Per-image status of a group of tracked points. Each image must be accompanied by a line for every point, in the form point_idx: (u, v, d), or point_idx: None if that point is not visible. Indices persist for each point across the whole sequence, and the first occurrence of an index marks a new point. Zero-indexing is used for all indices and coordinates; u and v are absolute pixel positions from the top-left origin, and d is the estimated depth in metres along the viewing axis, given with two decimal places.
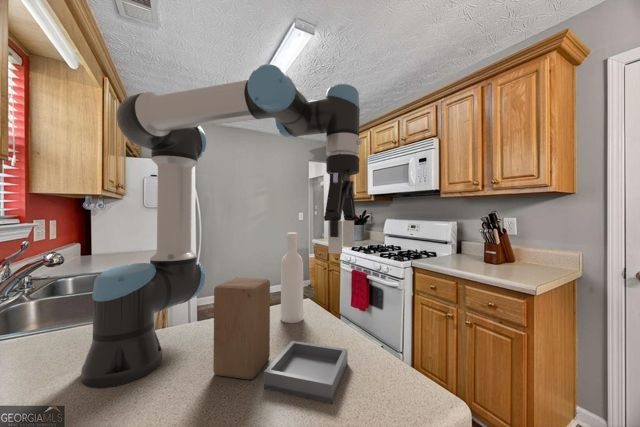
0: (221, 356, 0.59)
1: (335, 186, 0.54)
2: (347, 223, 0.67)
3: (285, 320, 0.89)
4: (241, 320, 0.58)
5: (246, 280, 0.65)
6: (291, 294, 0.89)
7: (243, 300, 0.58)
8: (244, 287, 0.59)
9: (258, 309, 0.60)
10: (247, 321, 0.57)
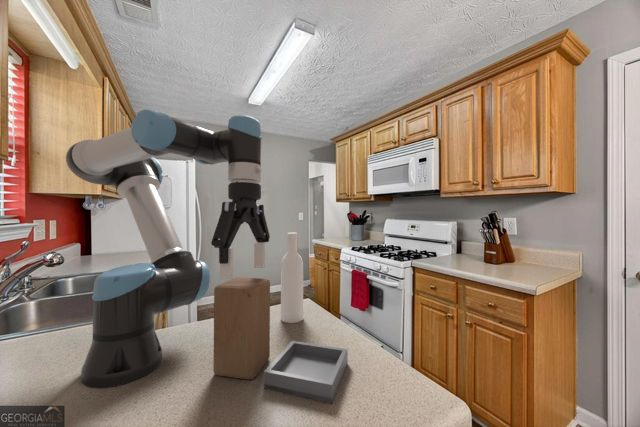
0: (221, 356, 0.59)
1: (225, 215, 0.56)
2: (258, 245, 0.69)
3: (285, 320, 0.89)
4: (241, 320, 0.58)
5: (246, 280, 0.65)
6: (291, 294, 0.89)
7: (243, 300, 0.58)
8: (244, 287, 0.59)
9: (258, 309, 0.60)
10: (247, 321, 0.57)
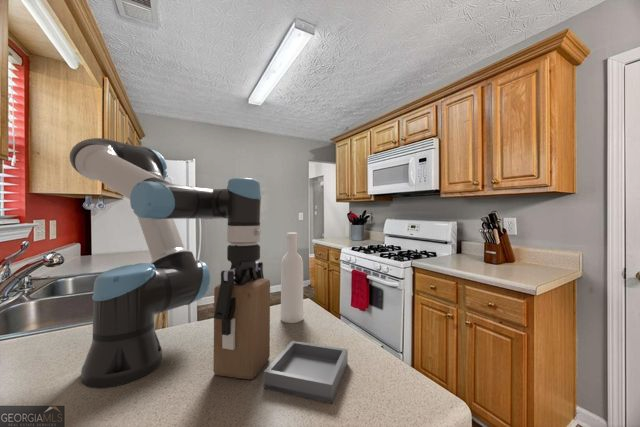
0: (221, 356, 0.59)
1: (225, 286, 0.57)
2: None
3: (285, 320, 0.89)
4: (241, 320, 0.58)
5: None
6: (291, 294, 0.89)
7: (243, 299, 0.58)
8: (244, 287, 0.59)
9: (258, 309, 0.60)
10: (247, 321, 0.57)
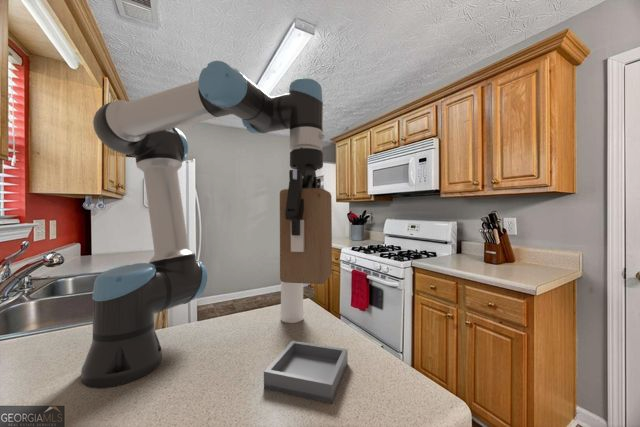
0: (288, 261, 0.56)
1: (295, 183, 0.54)
2: None
3: (285, 320, 0.89)
4: (310, 221, 0.55)
5: None
6: (291, 294, 0.89)
7: (313, 200, 0.55)
8: (312, 188, 0.56)
9: (326, 213, 0.57)
10: (317, 222, 0.55)
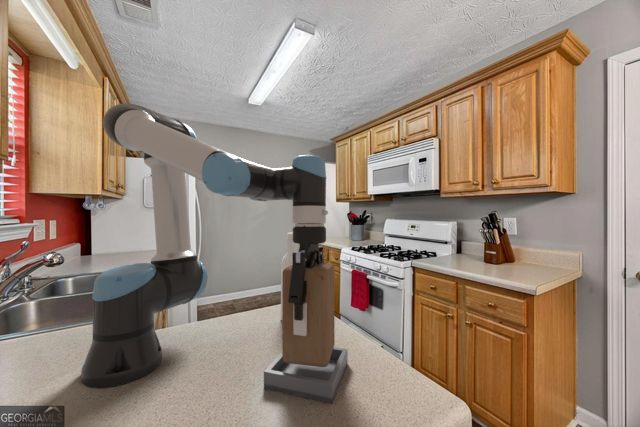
0: (291, 343, 0.55)
1: (298, 268, 0.53)
2: None
3: None
4: (313, 304, 0.54)
5: None
6: None
7: (316, 283, 0.54)
8: (316, 269, 0.55)
9: (329, 293, 0.56)
10: (320, 305, 0.54)
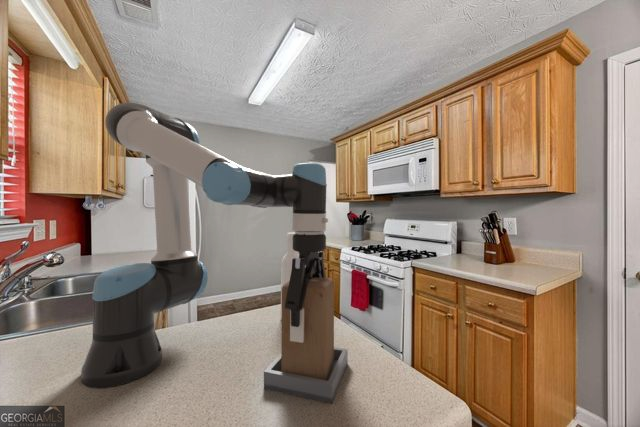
0: (290, 360, 0.55)
1: (297, 273, 0.53)
2: None
3: None
4: (312, 321, 0.54)
5: (310, 279, 0.61)
6: None
7: (315, 300, 0.54)
8: (315, 286, 0.55)
9: (328, 310, 0.56)
10: (319, 322, 0.54)
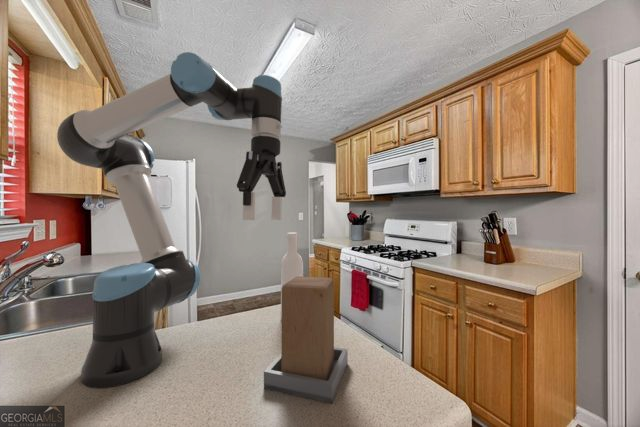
0: (290, 360, 0.55)
1: (249, 162, 0.63)
2: (275, 199, 0.76)
3: None
4: (312, 321, 0.54)
5: (310, 279, 0.61)
6: None
7: (315, 300, 0.54)
8: (315, 286, 0.55)
9: (328, 310, 0.56)
10: (319, 322, 0.54)
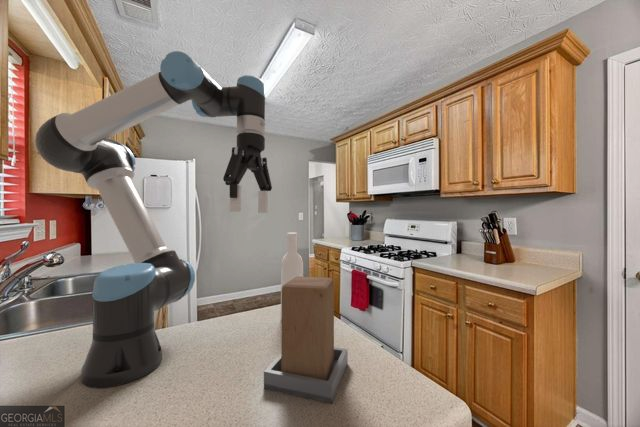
0: (290, 360, 0.55)
1: (235, 157, 0.67)
2: (261, 193, 0.80)
3: None
4: (312, 321, 0.54)
5: (310, 279, 0.61)
6: None
7: (315, 300, 0.54)
8: (315, 286, 0.55)
9: (328, 310, 0.56)
10: (319, 322, 0.54)
